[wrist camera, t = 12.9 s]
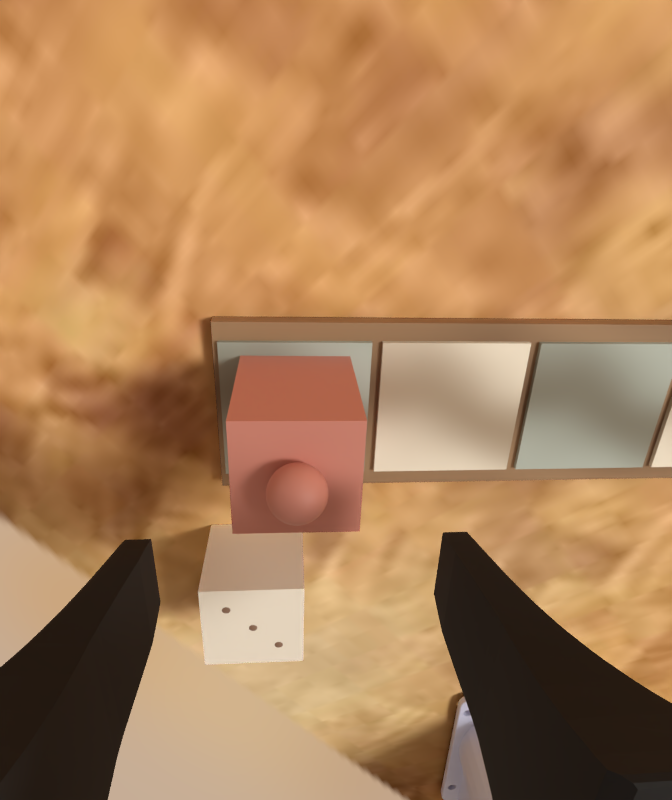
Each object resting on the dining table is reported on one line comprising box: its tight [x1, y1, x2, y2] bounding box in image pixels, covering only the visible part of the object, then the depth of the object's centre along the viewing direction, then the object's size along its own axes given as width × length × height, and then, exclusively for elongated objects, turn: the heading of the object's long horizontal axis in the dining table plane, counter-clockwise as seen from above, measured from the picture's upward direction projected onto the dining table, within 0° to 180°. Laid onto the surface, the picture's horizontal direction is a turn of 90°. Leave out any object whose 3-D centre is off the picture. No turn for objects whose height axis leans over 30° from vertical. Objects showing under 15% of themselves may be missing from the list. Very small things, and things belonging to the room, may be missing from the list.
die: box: [198, 524, 304, 665], centre depth 23 cm, size 4×4×4 cm
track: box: [211, 317, 672, 485], centre depth 22 cm, size 7×24×1 cm, turn 88°
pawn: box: [226, 356, 367, 534], centre depth 18 cm, size 4×4×7 cm
